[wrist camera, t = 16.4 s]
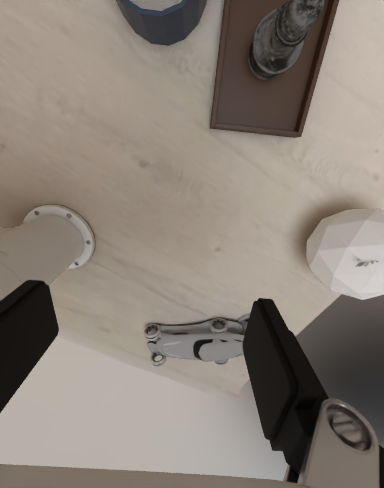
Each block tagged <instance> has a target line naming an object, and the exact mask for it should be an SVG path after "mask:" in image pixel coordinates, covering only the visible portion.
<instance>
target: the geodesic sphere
mask: <svg viewBox="0 0 384 488" xmlns="http://www.w3.org/2000/svg"><path fill="white" fill-rule="evenodd" d="M306 258H307V261H308V264H309V267H310V269H311V271H312V273H313V275H314V277H315V278H316V279H317V280H318V281H320V282H321V283H322V284H323V285H324V286H326V287H327V288H328V289H329V290H331V291H334V292H338V293H341V294H344V295H348V296H352V297H355V298H358V299H361V300H364V299H368V298H372V297H376V296H380V295H383V294H384V211H383V210H381V209H350V210H345V211H342V212H339V213H337V214H334V215H332V216H329V217H326V218H324V219H322V220H321V221H320V223H319V224H318V225H317V227H316V228H315V230H314V231H313V233H312V234H311V236H310V237H309V238H308V240H307V248H306Z"/></svg>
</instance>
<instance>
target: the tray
mask: <svg viewBox="0 0 384 488" xmlns="http://www.w3.org/2000/svg"><path fill="white" fill-rule="evenodd" d="M287 1H289V0H225V1H224V10H223V18H222V27H221V36H220V44H219V53H218V62H217V71H216V79H215V88H214V97H213V105H212V114H211V123H210V128H212V129H221V130H230V131H239V132H248V133H258V134H267V135H276V136H285V137H294V138H295V137H301V135H302V132H303V128H304V125H305V121H306V117H307V114H308V110H309V107H310V103H311V99H312V96H313V92H314V89H315V85H316V82H317V78H318V74H319V71H320V67H321V64H322V60H323V57H324V53H325V49H326V46H327V42H328V39H329V35H330V31H331V28H332V24H333V21H334V17H335V14H336V10H337V6H338V3H339V0H324V6H323V9H322V12H321V14H320V16H319V18H318V19H317V20H316V22H315V23H314V24H313V25H312V26H311V27H310V29H309V32H308V34H307V36H306V37H305V39H304V43H303V46H302V50H301V53H300V55H299V56H298V58H297V60H296V61H295V62H294V64H293V65H292V66H291V67H290V68H288V69H287V70H286V71H284V72H281V73H279V74H278V75H277V76H276V77H274V78H272V79H269V80H262V79H259V78H257V77H256V76H255V75H254V74H253V73H252V71H251V69H250V67H249V62H248V54H249V49H250V46H251V44H252V41H253V39H254V34H255V32H256V29H257V27H258V25H259V23H260V22H261V20H262V19H263V17H265V16H266V15H267V14H268V13H269V12H270V11H272V10H274V9H276V8H281V7H282V6H283V5H284V4H285V3H286V2H287Z"/></svg>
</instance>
